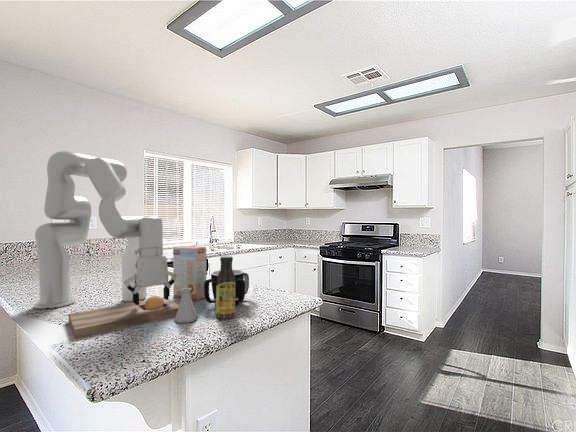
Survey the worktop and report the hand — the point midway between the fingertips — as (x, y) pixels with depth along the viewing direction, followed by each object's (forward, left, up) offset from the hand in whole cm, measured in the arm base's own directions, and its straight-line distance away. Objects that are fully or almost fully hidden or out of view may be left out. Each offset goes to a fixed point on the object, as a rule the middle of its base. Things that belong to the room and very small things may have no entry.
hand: (151, 301), depth 106 cm
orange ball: (+1, +1, -1) cm, 1 cm away
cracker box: (-11, +18, -4) cm, 22 cm away
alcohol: (-24, 0, -4) cm, 24 cm away
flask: (+15, +6, -4) cm, 17 cm away
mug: (+8, +25, -4) cm, 27 cm away
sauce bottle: (+21, +17, -4) cm, 27 cm away
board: (0, -8, -4) cm, 9 cm away
